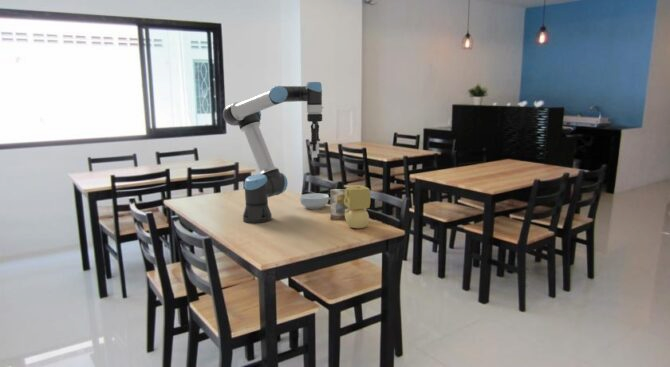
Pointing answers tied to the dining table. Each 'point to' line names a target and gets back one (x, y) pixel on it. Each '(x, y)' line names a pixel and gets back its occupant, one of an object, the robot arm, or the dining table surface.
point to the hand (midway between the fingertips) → (315, 155)
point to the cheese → (357, 197)
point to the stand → (337, 204)
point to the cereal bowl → (314, 200)
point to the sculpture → (357, 218)
